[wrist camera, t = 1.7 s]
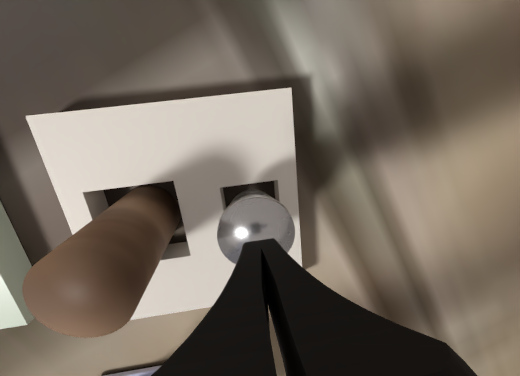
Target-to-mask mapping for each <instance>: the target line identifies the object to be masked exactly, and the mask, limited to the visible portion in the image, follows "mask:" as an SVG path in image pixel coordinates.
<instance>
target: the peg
mask: <svg viewBox="0 0 520 376" xmlns="http://www.w3.org/2000/svg"><path fill="white" fill-rule="evenodd" d="M180 216H181V212H180V207H179V205H178V203H177V201H176V199H175V198H174V197H173V196H172V195H171V194H170V193H169V192H167V191H165V190H164V189H161V188H159V187H155V186H141V187H137V188H135V189H133V190H131V191H130V192H129V193H127V194H126V195H125V196H123V197H122V198H121V199H119V200H118V201H117V202H115V203H114V204H113V205H111V206H110V207H109V208H108V209H106V210H105V211H104V212H102V213H101V214H100V215H98V216H97V217H96V218H94V219H93V220H92V221H90V222H89V223H88V224H87V225H85V226H84V227H83V228H81V229H80V230H79V231H77V232H76V233H75V234H73V235H72V236H71V237H70V238H68V239H67V240H66V241H64V242H63V243H62V244H60V245H59V246H58V247H56V248H55V249H54V250H52V251H51V252H50V253H49V254H47V255H46V256H45V257H43V258H42V259H41V260H39V261H38V262H37V263H36V264H34V265H33V266H32V267H31V268H30V270H29V271H28V272H27V274H26V276H25V278H24V281H23V287H22V291H23V298H24V301H25V303H26V306H27V307H28V309H29V311H30V312H31V313H32V314H33V316H34V317H35V318H36V319H37V320H38V321H40V322H41V323H42V324H44V325H45V326H47V327H48V328H50V329H52V330H54V331H56V332H59V333H62V334H65V335H69V336H74V337H84V338H87V337H99V336H103V335H107V334H110V333H112V332H115V331H117V330H118V329H120V328H122V327H123V326H124V325H125V324H126V323H127V322H128V321H129V320H130V319H131V317H132V316H133V314H134V312H135V310H136V308H137V306H138V304H139V302H140V300H141V298H142V296H143V294H144V292H145V290H146V288H147V286H148V284H149V282H150V280H151V278H152V276H153V274H154V272H155V270H156V268H157V266H158V264H159V262H160V260H161V258H162V256H163V254H164V252H165V250H166V248H167V246H168V244H169V242H170V240H171V238H172V236H173V234H174V232H175V230H176V228H177V226H178V224H179V221H180Z"/></svg>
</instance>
